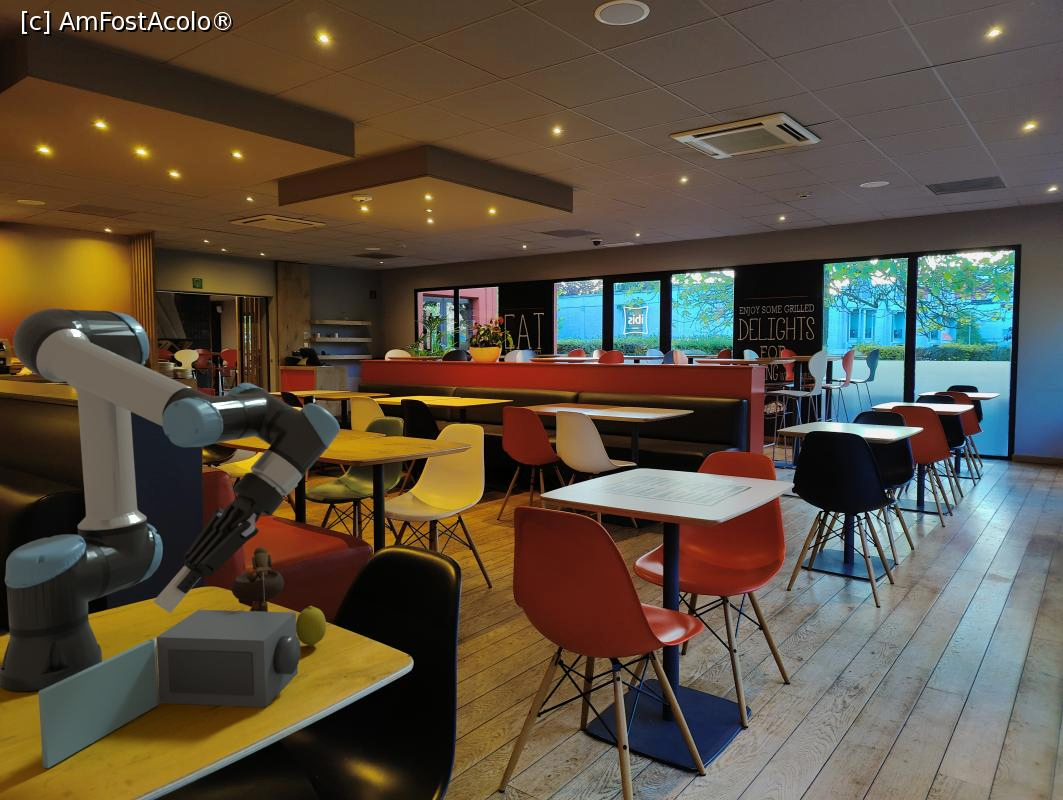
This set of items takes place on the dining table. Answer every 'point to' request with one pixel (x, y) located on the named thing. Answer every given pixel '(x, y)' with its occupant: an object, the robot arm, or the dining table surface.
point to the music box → (258, 583)
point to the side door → (97, 701)
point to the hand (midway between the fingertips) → (161, 607)
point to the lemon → (311, 626)
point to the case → (228, 658)
